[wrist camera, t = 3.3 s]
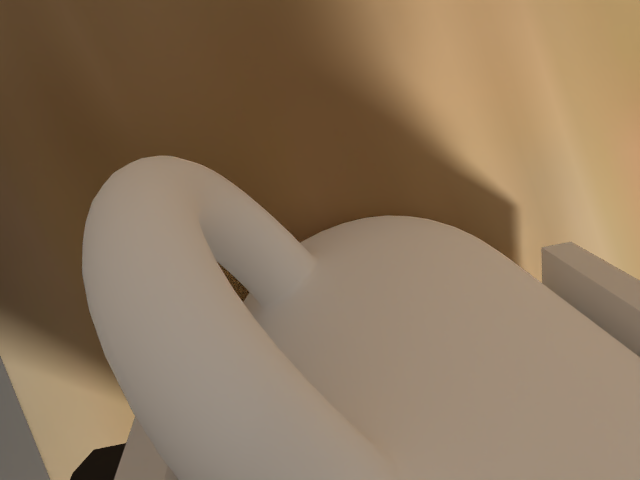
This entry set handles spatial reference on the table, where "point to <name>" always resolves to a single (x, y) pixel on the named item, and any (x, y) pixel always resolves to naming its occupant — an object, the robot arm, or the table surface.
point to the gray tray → (16, 438)
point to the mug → (343, 344)
